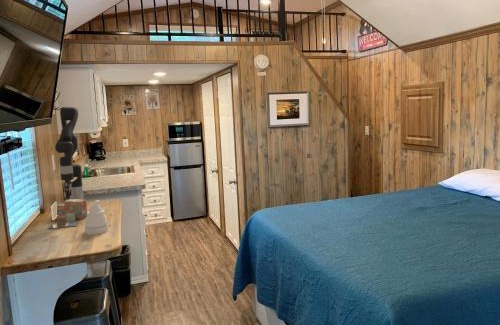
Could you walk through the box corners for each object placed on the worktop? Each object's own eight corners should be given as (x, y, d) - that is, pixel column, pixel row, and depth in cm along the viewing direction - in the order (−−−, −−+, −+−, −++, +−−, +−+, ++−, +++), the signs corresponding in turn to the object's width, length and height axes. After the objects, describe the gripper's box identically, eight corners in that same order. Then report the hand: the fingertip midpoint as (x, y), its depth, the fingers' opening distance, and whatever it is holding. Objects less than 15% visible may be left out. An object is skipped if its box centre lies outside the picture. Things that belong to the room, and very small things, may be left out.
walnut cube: (58, 223, 249) (57, 216, 248) (66, 223, 250) (66, 215, 249) (57, 226, 244) (56, 218, 243) (65, 225, 245) (65, 217, 245)
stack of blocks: (53, 218, 264) (51, 201, 263) (58, 216, 270) (57, 198, 269) (82, 219, 261) (80, 201, 260) (87, 216, 267) (86, 199, 266)
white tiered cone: (100, 226, 244) (97, 198, 241) (112, 229, 236) (110, 200, 234) (80, 231, 233) (78, 202, 231) (93, 235, 226) (91, 205, 224)
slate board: (51, 224, 250) (51, 223, 249) (78, 222, 254) (78, 220, 254) (48, 229, 240) (48, 228, 240) (76, 226, 245) (76, 225, 245)
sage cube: (67, 220, 259) (66, 213, 259) (75, 219, 261) (74, 212, 260) (66, 222, 255) (65, 214, 254) (74, 221, 256) (73, 214, 255)
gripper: (61, 171, 259) (64, 195, 261) (58, 174, 246) (61, 199, 248) (74, 170, 261) (76, 194, 263) (71, 173, 248) (74, 198, 250)
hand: (68, 197), depth 255 cm, fingers open, 8 cm apart
